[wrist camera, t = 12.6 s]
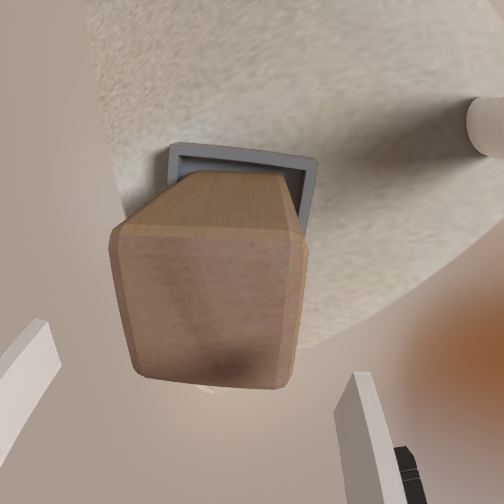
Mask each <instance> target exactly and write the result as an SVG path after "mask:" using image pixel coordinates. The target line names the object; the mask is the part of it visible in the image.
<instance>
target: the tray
mask: <svg viewBox="0 0 504 504" xmlns="http://www.w3.org/2000/svg"><path fill="white" fill-rule="evenodd" d="M317 166H318V162H317V161H316V160H315V159H313V158H308V157H302V156H296V155H289V154H283V153H276V152H269V151H261V150H254V149H246V148H237V147H228V146H218V145H207V144H196V143H183V142H178V143H174V144H170V148H169V161H168V176H167V189H169V188H170V187H171V186H173V185H174V184H176V183H177V182H179V181H180V180H182V179H183V178H185V177H186V176H188V175H189V174H191V173H192V172H195V171H197V170H221V171H255V172H276V173H279V174H281V175H283V176H284V179H285V182H286V184H287V187H288V190H289V193H290V196H291V199H292V202H293V205H294V208H295V211H296V214H297V217H298V220H299V223H300V226H301V229H302V232H303V235H304V238H305V233H306V228H307V222H308V217H309V212H310V206H311V201H312V195H313V190H314V184H315V178H316V172H317Z"/></svg>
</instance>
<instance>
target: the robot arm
mask: <svg viewBox="0 0 504 504" xmlns="http://www.w3.org/2000/svg"><path fill="white" fill-rule="evenodd" d="M61 366H62V365H61V363H60V360H59V357H58V354H57V351H56V348H55V345H54V341H53V338H52V335H51V332H50V328H49V325H48V322H47V321H43V320H40V319H37V318H35V319H34V320H33V321H32V322H31V323H30V324H29V326H28V327H27V328H26V329H25V330H24V331H23V332H22V333H21V334H20V336H19V337H18V338H17V339H16V340H15V341H14V342H13V344H12V345H11V346H10V347H9V348H8V349H7V351H6V352H5V353H4V354H3V355H2V357H1V358H0V467H1V465H2V463H3V461H4V460H5V458H6V456H7V454H8V452H9V450H10V448H11V447H12V445H13V443H14V441H15V439H16V438H17V436H18V434H19V433H20V431H21V429H22V428H23V426H24V424H25V422H26V421H27V419H28V417H29V416H30V414H31V412H32V411H33V409H34V408H35V406H36V404H37V403H38V401H39V400H40V398H41V396H42V395H43V393H44V392H45V390H46V389H47V387H48V385H49V384H50V382H51V381H52V379H53V378H54V376H55V375H56V373H57V372H58V370H59V369H60V367H61ZM334 418H335V424H336V430H337V436H338V442H339V449H340V455H341V462H342V469H343V476H344V483H345V491H346V498H347V504H427V502H426V497H425V494H424V490H423V486H422V483H421V480H420V479H419V478H420V476H419V472H418V470H417V465H416V462H415V459H414V456H413V455H412V453H411V452H410V451H409V450H408V448H407V447H406V446H404V447H396V448H393V445H392V442H391V438H390V435H389V432H388V428H387V424H386V421H385V418H384V414H383V411H382V408H381V405H380V401H379V398H378V395H377V392H376V389H375V386H374V382H373V380H372V376H371V373H370V372H353V373H352V376H351V378H350V380H349V382H348V384H347V386H346V388H345V390H344V392H343V394H342V396H341V399H340V401H339V402H338V404H337V406H336V409H335V411H334Z"/></svg>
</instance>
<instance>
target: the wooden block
mask: <svg viewBox="0 0 504 504" xmlns="http://www.w3.org/2000/svg"><path fill="white" fill-rule="evenodd" d="M108 249H109V255H110V262H111V268H112V274H113V280H114V286H115V291H116V296H117V301H118V306H119V311H120V316H121V320H122V324H123V329H124V333H125V337H126V341H127V345H128V349H129V353H130V357H131V361H132V365H133V368H134V369H135V371H136V372H137V373H138V374H140V375H142V376H144V377H146V378H153V379H158V380H166V381H173V382H181V383H189V384H198V385H208V386H219V387H232V388H247V389H270V390H271V389H272V390H275V389H279V388H282V387H285V385H286V384H287V383H288V381H289V379H290V377H291V375H292V371H293V365H294V359H295V352H296V346H297V339H298V333H299V326H300V318H301V311H302V304H303V296H304V288H305V280H306V272H307V264H308V255H309V250H308V247H307V244H306V241H305V238H304V235H303V232H302V229H301V226H300V223H299V220H298V217H297V214H296V211H295V208H294V205H293V202H292V199H291V196H290V193H289V190H288V187H287V184H286V182H285V179H284V176H283V175H281V174H279V173H276V172H255V171H221V170H197V171H195V172H192V173H191V174H189V175H188V176H186V177H185V178H183V179H182V180H180V181H179V182H177V183H176V184H174V185H173V186H171V187H170V188H169V189H167V190H166V191H164V192H163V193H161V194H160V195H159V196H157V197H156V198H154V199H153V200H152V201H150V202H149V203H147V204H146V205H145V206H143V207H142V208H141V209H139V210H138V211H137V212H135V213H134V214H133V215H131V216H130V217H129V218H127V219H126V220H125V221H124V222H122V223H121V224H119V225H118V226H117V227H115V228H114V229H113V230H112V233H111V235H110V241H109V248H108Z"/></svg>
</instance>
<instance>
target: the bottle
mask: <svg viewBox="0 0 504 504" xmlns="http://www.w3.org/2000/svg"><path fill="white" fill-rule="evenodd" d="M466 129H467V133H468V136H469V139H470V141H471V143H472V144H473V146H474V148H475V149H476V150H478V151H479V152H480V153H481V154H484V155H487V156H490V157H492V158H495V159H499V160H504V97H499V96H486V97H478V98H477V99H475V100H474V101H472V103H471V104H470V106H469V108H468V111H467V115H466Z"/></svg>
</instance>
